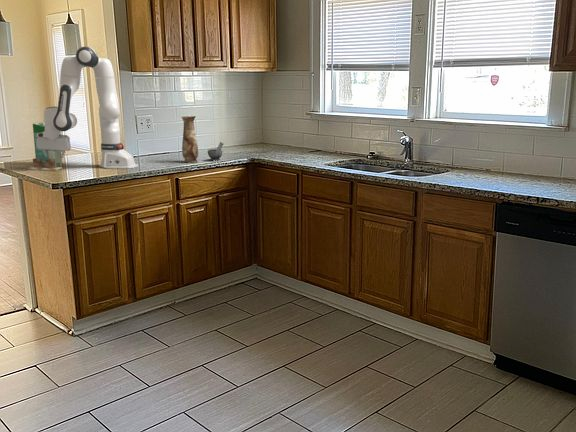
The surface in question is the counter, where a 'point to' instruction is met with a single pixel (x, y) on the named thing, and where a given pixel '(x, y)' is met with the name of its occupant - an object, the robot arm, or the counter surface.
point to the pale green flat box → (55, 157)
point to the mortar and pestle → (216, 152)
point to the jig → (44, 165)
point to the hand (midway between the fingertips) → (54, 157)
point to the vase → (189, 139)
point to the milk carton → (36, 129)
